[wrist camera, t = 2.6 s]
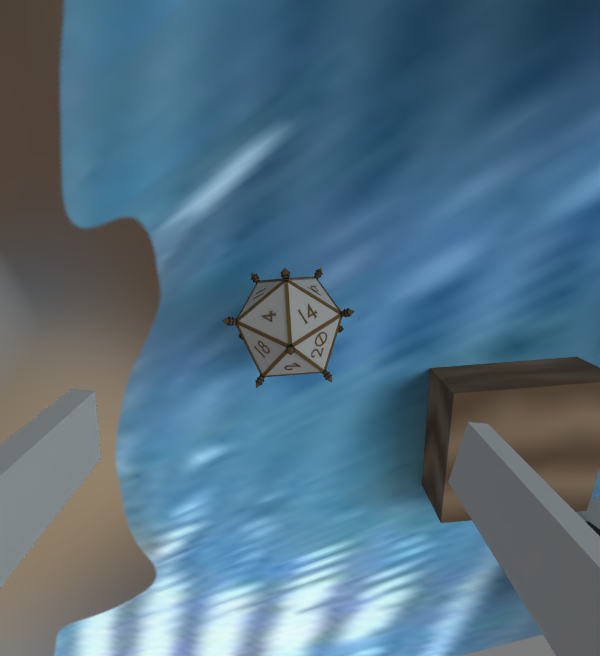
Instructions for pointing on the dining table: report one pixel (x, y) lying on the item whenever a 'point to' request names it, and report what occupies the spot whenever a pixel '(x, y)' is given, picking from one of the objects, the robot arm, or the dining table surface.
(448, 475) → the walnut block
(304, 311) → the game die
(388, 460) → the dining table surface
